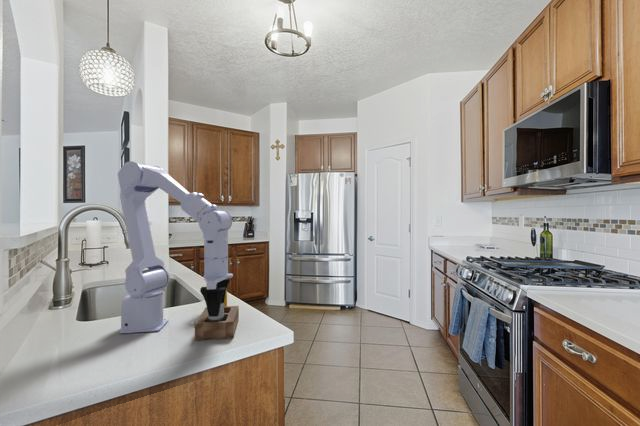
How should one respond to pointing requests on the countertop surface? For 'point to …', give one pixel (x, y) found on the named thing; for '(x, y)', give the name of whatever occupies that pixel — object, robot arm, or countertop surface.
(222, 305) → the peg
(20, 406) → the countertop surface
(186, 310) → the countertop surface
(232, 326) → the socket block
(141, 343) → the countertop surface
